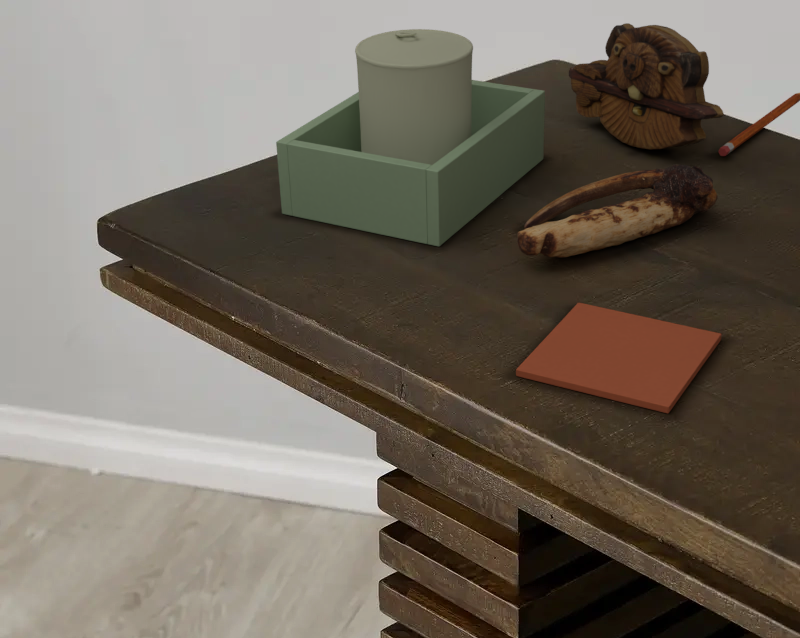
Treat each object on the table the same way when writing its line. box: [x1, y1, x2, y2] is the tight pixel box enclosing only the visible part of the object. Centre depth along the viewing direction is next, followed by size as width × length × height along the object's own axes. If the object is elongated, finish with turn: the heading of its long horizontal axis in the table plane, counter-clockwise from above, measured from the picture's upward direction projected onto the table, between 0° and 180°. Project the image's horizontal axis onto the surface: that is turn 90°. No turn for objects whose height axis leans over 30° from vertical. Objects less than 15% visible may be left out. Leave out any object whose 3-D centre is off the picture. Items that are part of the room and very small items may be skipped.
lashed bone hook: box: [516, 163, 719, 259], centre depth 103 cm, size 9×5×18 cm
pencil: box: [718, 92, 800, 157], centre depth 122 cm, size 1×18×1 cm, turn 144°
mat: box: [515, 302, 723, 414], centre depth 88 cm, size 10×10×1 cm
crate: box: [275, 79, 546, 247], centre depth 111 cm, size 14×19×6 cm
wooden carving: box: [568, 22, 725, 150], centre depth 117 cm, size 16×5×10 cm, turn 40°
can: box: [354, 28, 474, 165], centre depth 110 cm, size 9×9×12 cm
